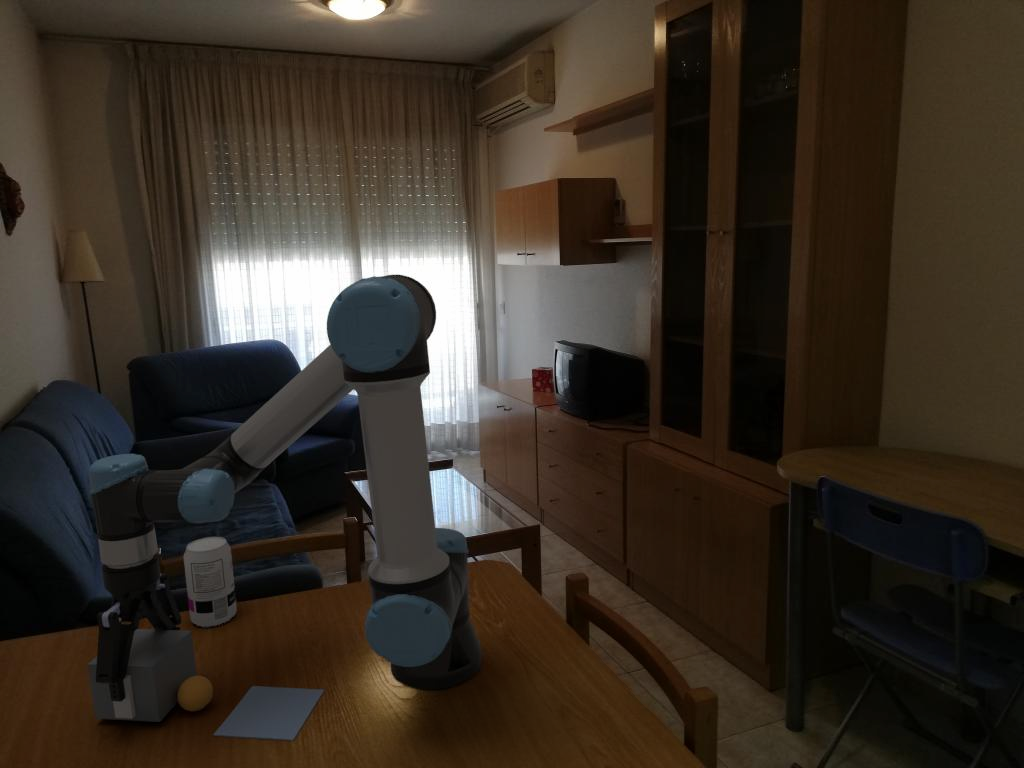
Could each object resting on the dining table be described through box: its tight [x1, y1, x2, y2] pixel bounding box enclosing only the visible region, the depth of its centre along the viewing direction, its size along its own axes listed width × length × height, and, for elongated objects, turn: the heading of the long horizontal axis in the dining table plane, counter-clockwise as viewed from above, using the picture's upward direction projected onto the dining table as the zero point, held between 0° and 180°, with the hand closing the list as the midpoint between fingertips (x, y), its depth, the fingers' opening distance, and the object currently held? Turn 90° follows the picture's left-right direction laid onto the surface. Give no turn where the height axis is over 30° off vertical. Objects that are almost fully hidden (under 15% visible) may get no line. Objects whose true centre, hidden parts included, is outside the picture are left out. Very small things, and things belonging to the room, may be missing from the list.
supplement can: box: [183, 536, 238, 628], centre depth 138 cm, size 8×8×15 cm
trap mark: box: [213, 685, 326, 742], centre depth 110 cm, size 12×12×1 cm
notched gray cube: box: [87, 628, 198, 723], centre depth 112 cm, size 10×10×9 cm
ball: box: [177, 675, 214, 712], centre depth 112 cm, size 5×5×5 cm
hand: (148, 694), depth 113 cm, fingers closed on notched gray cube, 10 cm apart
